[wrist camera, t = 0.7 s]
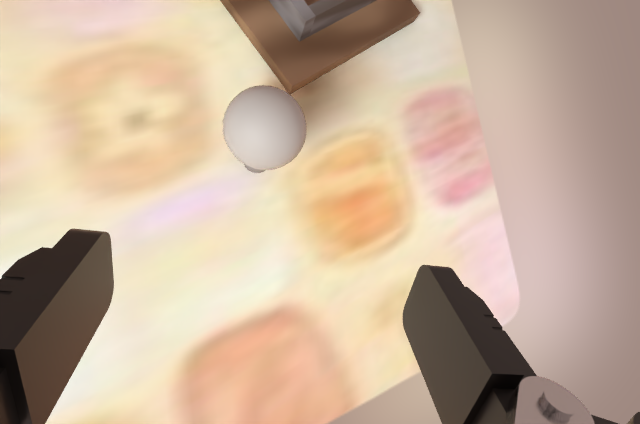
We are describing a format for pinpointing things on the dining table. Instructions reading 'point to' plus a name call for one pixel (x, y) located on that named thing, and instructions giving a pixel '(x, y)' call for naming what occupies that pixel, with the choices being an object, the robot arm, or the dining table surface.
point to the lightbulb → (264, 128)
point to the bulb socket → (316, 32)
